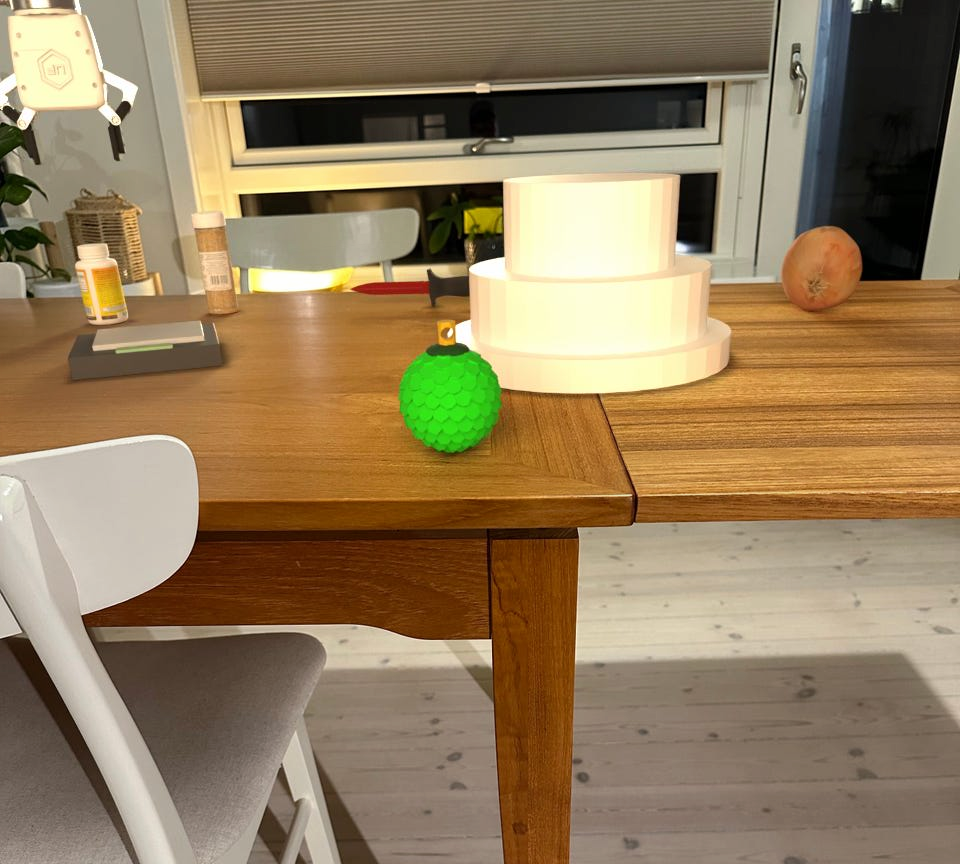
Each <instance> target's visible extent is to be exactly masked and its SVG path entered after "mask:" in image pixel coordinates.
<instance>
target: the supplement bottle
mask: <svg viewBox="0 0 960 864" xmlns="http://www.w3.org/2000/svg"><path fill="white" fill-rule="evenodd" d="M76 249H77V255H78V259H80V260H78V261H76V262H75V264H74V268H75V273H76V277H77V281H78V285H79V286H78V287H79V290H80V294H81V299H82V303H83V307H84V311H85V315H86V320H87V322H88V323H89V324H90V325H94V326H109V325H110V326H111V325H117V324H121V323H125V322H126V321H128V319H129V313H128V308H127V303H126V299H125V294H124V290H123V284H122V280H121V275H120V270H119V266H118V262H117V260H116V259H115V258H113V257H110V251H109V248H108V244H107V243H86V244H80V245H77V246H76Z"/></svg>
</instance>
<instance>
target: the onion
mask: <svg viewBox="0 0 960 864" xmlns="http://www.w3.org/2000/svg"><path fill="white" fill-rule="evenodd" d="M862 258H863V257H862V254H861V250H860V247H859V245H858V243H857V242H856V241H855V240H854V239H853V238H852V237H851V236H850V235H849V234H848V233H847V232H846V231H845V230H843V229H842V228H841V227H838V226H833V225H824V226H819V227H815V228H812V229H809V230H807V231H804V232H803V233H801V234H800V235H798V236H797V237H796V239H794V240H793V242H792V243H791V245H790V247H789V248H788V250H787V251H786V253H785V255H784V257H783V261H782V264H781V270H780V281H781V285H782V290H783V291H784V294H785V296H786V297H787V298H788V300H789V301H790V302H792V304H794V306H796V307H799V308H800V309H801V310H803V311H809V312H810V311H811V312H813V311H821V310H827V309H831V308H836V307H838V306H840V305H843V304H844V303H845V302H846V301H847V300H849V298H850V297H851V296H852V295H853V294H855V291H856V290H857V288H858V286H859V285H860V280H861V277H862V272H863V259H862Z"/></svg>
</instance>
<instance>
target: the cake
mask: <svg viewBox="0 0 960 864" xmlns="http://www.w3.org/2000/svg"><path fill="white" fill-rule="evenodd" d="M680 184H681V175H680V174H676V173H663V172H661V173H660V172H603V173H602V172H600V173H599V172H598V173H570V174H569V173H565V174H549V175H548V174H546V175H534V176H521V177H512V178H506V179H503V181H502V189H503V191H502V193H503V196H502V197H503V247H504V249H503V251H504V252H503V253H504V254H503V255H504V256H503V257H497V258H492V259H488V260H484V261H480V262H477V263H475V264H473V265H471V266H470V267H469V268H468V276H469V286H470V296H469V310H470V311H469V312H470V319H468V320H466V321H465V320H464V321H462V322H459V323H457V324H456V342H458V343H463V344H465V345H467V346H468V347H469V349H470V350H472V351H475V352H477V353H479V354H481V358H483V359H484V360H486V361H487V362H488V363H490V365H491V366H492V370H493V371H494V372H495V373H496V374H497V376H498V380H499V382H498V383H499V385H500V387H501V389H505V390H506V389H507V390H512V391H513V390H514V391H521V392H523V391H524V392H534V393H544V394H545V393H548V394H549V393H550V394H609V393H610V394H613V393H626V392H639V391H646V390H647V391H648V390H656V389H663V388H668V387H674V386H680V385H685V384H689V383H692V382H696V381H700V380H704V379H706V378H709V377H710V376H714V375H716V374H718V373H720V372H721V371H723V370H724V368H726V367H727V366H728V364H729V361H730V354H731V352H730V351H731V342H732V341H731V340H732V329H731V328H730V326H729V325H728V324H726V323H725V322H723V321H721V320H720V319H717V318H714V317H710V316H709V306H710V305H709V304H710V296H711V295H710V293H711V282H712V281H711V280H712V269H713V268H712V267H713V264H712V263H711V262H710V261H709V260H707V259H705V258H701V257H696V256H693V255H686V254H678V253H676V249H677V233H678V219H679V217H678V216H679V202H680ZM452 333H453V330H452V328H449V331H448V332H447V337H450V336H451V335H452Z"/></svg>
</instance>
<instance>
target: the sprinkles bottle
mask: <svg viewBox="0 0 960 864" xmlns="http://www.w3.org/2000/svg"><path fill="white" fill-rule="evenodd" d="M190 219H191V224H192V228H193V231H194V234H195V240H196V246H197V250H198V251H197V255H198V260H199V265H200V271H201V278H202V283H203V289H204V293H205V298H206V304H207V313H208V314H211V315H229V314H234V313H237V312H239V310H240V307H239V305H238V299H237V291H236V282H235V277H234V269H233V265H232V262H231V254H230V249H229V242H228V237H227V231H226V229H227V227H226V226H227V221H226V216H225V212H224V211H220V210H209V211H208V210H206V211H205V210H204V211H198V212H193V213H191V214H190Z"/></svg>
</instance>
